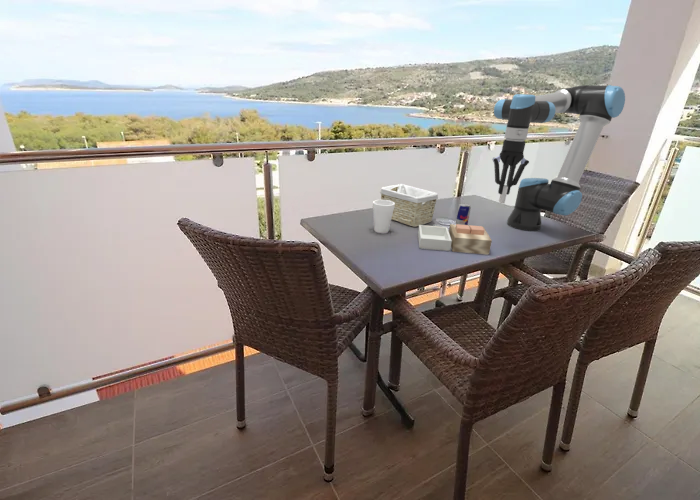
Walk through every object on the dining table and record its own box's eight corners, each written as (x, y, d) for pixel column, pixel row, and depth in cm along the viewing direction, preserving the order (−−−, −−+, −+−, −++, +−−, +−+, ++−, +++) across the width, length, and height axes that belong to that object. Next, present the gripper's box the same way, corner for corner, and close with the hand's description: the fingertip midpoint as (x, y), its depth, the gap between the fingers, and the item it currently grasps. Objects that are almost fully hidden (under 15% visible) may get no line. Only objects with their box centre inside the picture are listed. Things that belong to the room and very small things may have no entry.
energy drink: (460, 232, 168) (464, 207, 163) (452, 228, 172) (456, 203, 168) (469, 231, 170) (473, 205, 166) (460, 227, 175) (465, 202, 170)
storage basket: (376, 215, 186) (379, 186, 180) (398, 210, 196) (401, 182, 190) (414, 229, 170) (417, 197, 164) (435, 222, 180) (439, 192, 174)
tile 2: (481, 230, 153) (482, 226, 153) (483, 235, 149) (484, 230, 148) (468, 229, 154) (469, 225, 153) (470, 234, 149) (471, 229, 148)
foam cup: (395, 229, 168) (397, 201, 163) (388, 236, 160) (390, 207, 155) (375, 225, 171) (377, 198, 166) (367, 232, 164) (369, 203, 158)
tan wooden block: (480, 239, 161) (483, 226, 158) (488, 254, 146) (491, 240, 144) (447, 237, 162) (450, 224, 160) (452, 251, 147) (454, 237, 145)
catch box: (445, 236, 162) (447, 227, 160) (450, 251, 147) (451, 240, 146) (417, 234, 163) (419, 224, 161) (419, 248, 149) (420, 238, 147)
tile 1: (467, 229, 154) (468, 225, 153) (469, 233, 149) (470, 229, 149) (455, 228, 154) (456, 224, 154) (456, 232, 150) (457, 228, 149)
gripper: (498, 140, 133) (486, 203, 143) (536, 142, 132) (521, 206, 141) (494, 137, 140) (482, 198, 149) (530, 139, 139) (516, 201, 148)
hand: (501, 202), depth 145 cm, fingers closed
